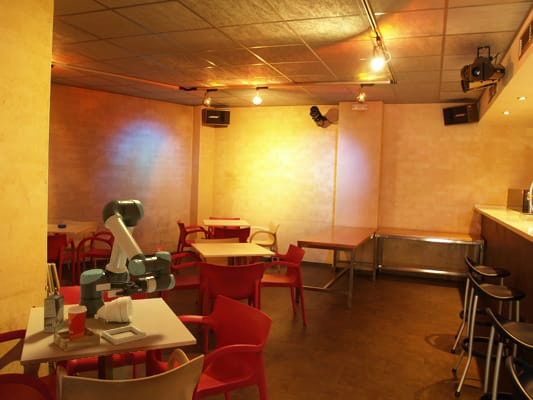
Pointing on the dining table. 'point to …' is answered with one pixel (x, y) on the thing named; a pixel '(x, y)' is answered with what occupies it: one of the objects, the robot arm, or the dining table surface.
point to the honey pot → (117, 310)
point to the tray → (126, 339)
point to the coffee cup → (76, 322)
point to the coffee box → (53, 313)
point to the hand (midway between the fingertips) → (102, 291)
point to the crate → (67, 345)
